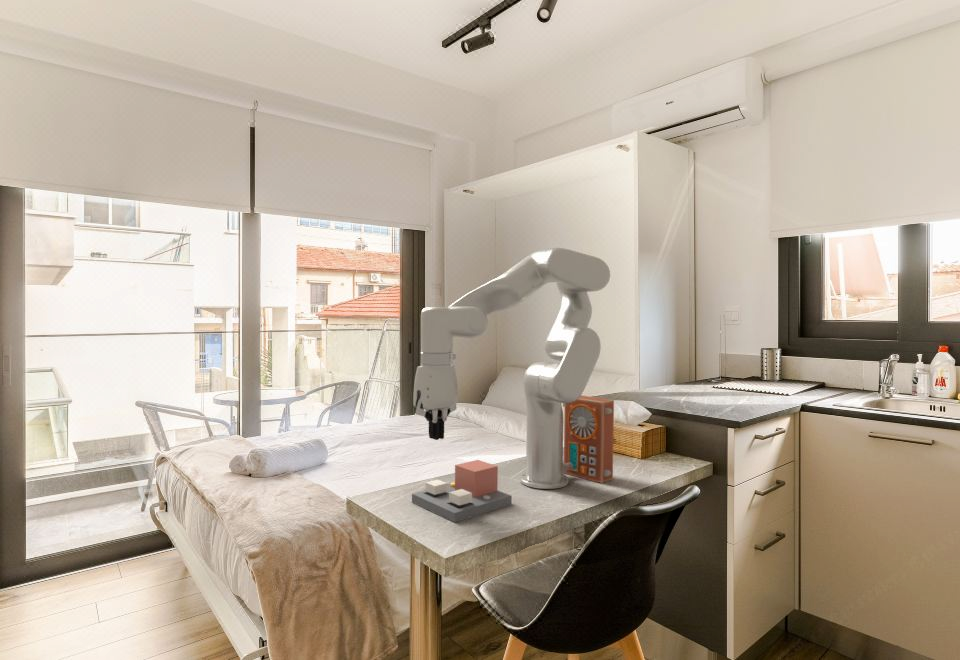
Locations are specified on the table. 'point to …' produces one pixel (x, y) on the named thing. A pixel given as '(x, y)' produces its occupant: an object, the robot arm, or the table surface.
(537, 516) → the table surface
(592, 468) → the control panel
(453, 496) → the block
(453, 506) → the board
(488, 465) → the cap
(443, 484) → the block
